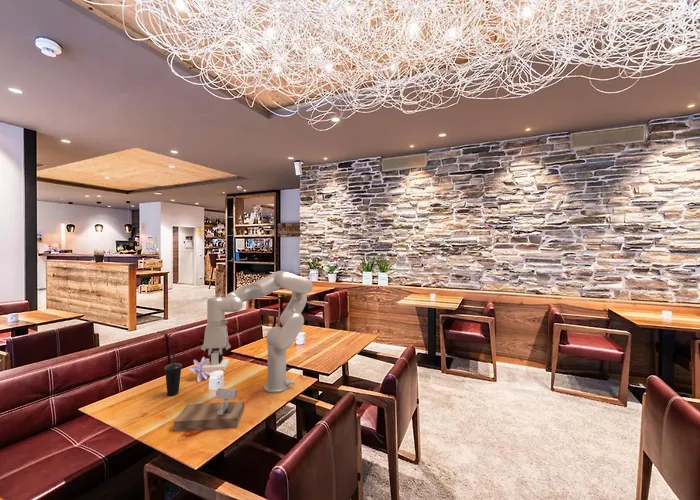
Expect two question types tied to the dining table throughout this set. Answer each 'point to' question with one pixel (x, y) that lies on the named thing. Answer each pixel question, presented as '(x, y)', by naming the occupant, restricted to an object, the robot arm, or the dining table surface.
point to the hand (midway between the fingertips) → (216, 362)
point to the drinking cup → (173, 378)
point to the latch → (225, 398)
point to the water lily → (198, 369)
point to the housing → (208, 416)
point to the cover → (215, 363)
